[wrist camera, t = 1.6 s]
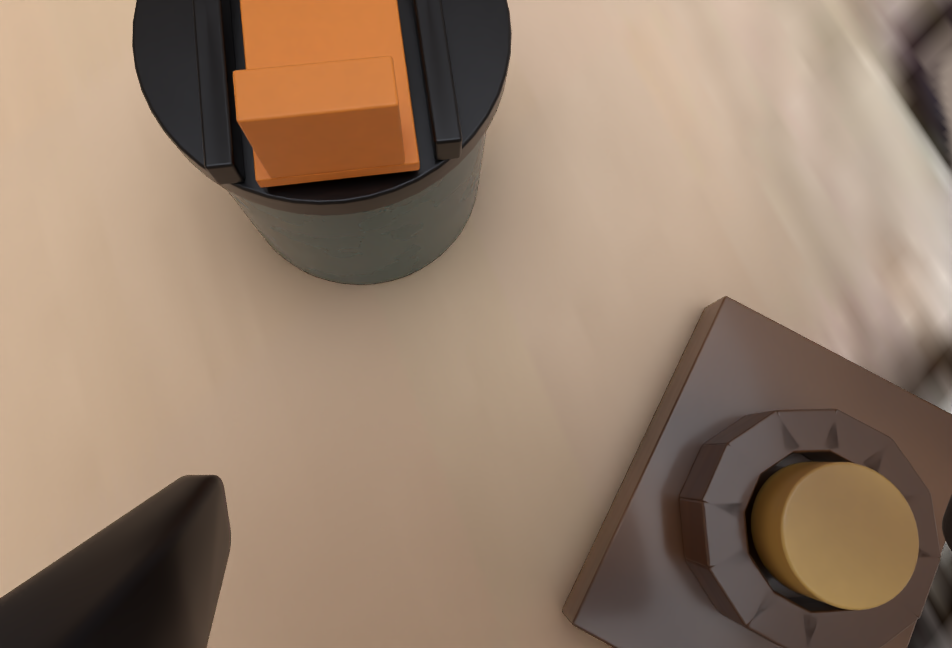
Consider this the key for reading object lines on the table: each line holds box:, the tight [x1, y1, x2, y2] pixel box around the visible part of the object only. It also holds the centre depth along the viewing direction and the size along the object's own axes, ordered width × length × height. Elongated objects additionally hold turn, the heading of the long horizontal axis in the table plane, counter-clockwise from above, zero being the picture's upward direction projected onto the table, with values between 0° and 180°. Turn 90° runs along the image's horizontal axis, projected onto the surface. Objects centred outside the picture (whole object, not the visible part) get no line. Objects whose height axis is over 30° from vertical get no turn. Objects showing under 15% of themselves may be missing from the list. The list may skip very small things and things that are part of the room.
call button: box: [751, 462, 919, 610], centre depth 18 cm, size 4×4×2 cm
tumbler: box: [132, 0, 511, 284], centre depth 19 cm, size 9×9×9 cm
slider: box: [233, 0, 420, 188], centre depth 13 cm, size 5×3×3 cm
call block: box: [562, 296, 952, 648], centre depth 20 cm, size 11×9×4 cm
